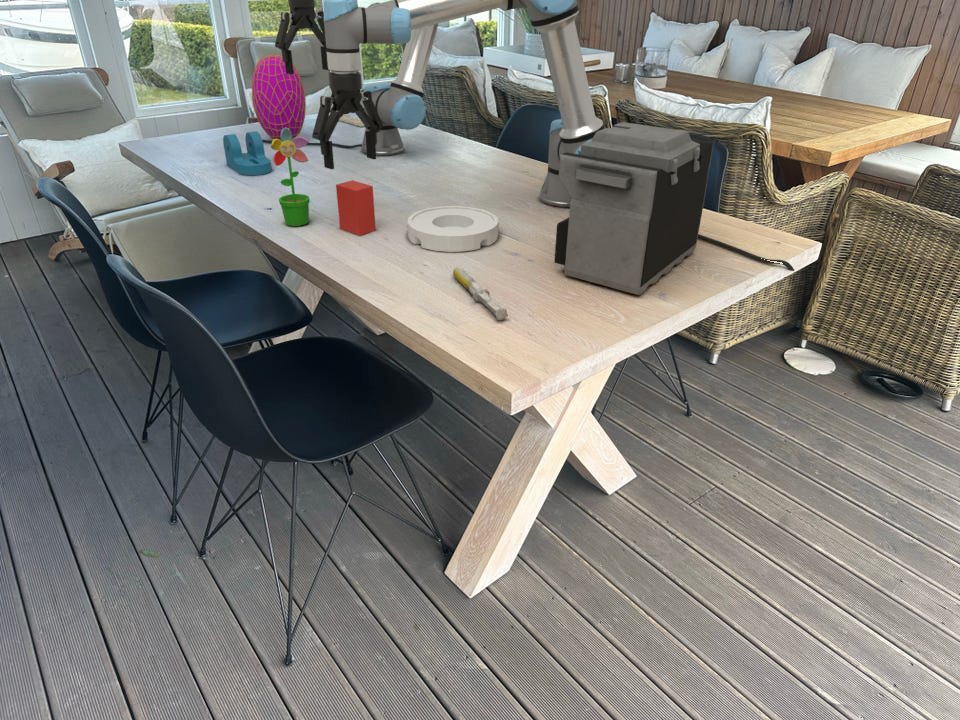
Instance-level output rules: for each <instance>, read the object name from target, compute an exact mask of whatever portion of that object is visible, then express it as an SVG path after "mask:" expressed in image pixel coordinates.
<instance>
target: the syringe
mask: <svg viewBox="0 0 960 720" xmlns="http://www.w3.org/2000/svg"><path fill="white" fill-rule="evenodd" d="M452 274H453V277H454V279H455V280H457V281H458V282H459V283H460V285H462V287H464V289H466V290H467V291H468V293H470V295H471V296H472V298H473V300H474V302H477V303H478V302H480V303H482V304H483V305H484V306H485V307H486V308H487V309H488V310H489V311H490V312H491V313H492V314H493V315H494V316H495V317H496V320H497V321H503V320H504V319H506V318H507V317H509V314H508V310H507V308H506V307H502V306H501V305H500V303H498V302H497V301H496V300H494V299H493V298H492V297H491V296H490V295H491V293H490V290H488V289H486V288H483V287H482V286H481V285H480V284H479V283H478V282H477V281H476V280H474V278H473V277H471V275H469V274H468V273H467V272H466V270H465V269H464V268H463V267H462V266H456V267H454V268H453V271H452Z"/></svg>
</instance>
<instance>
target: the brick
mask: <svg viewBox="0 0 960 720" xmlns="http://www.w3.org/2000/svg"><path fill="white" fill-rule="evenodd" d="M335 191H336V201H337V210H338V220H339V221H338V222H339V229H340V230H342V231H345V232H349V233H351V234H354V235H357V236H364V235H366V234H369V233H373V232H375V231H376V230H377V229H376V228H377V227H376V214H375V200H374V198H375V197H374V186H373V185H370V184H367V183H363V182H360V181H357V180H354V179H351V180H348V181H345V182H341V183H337V184H335Z"/></svg>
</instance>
